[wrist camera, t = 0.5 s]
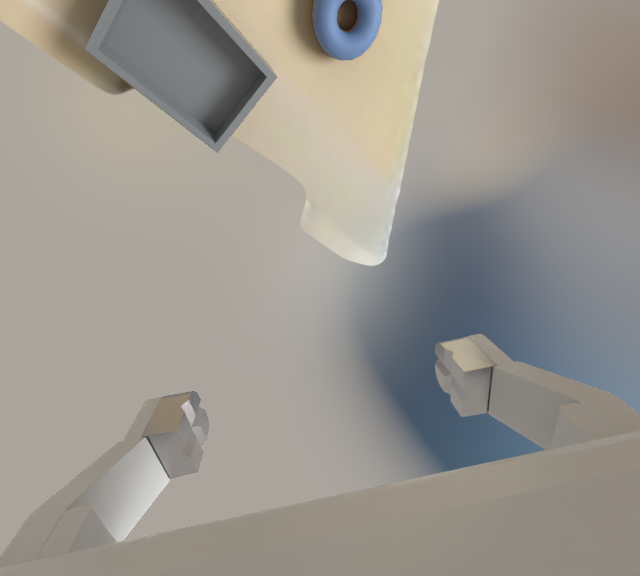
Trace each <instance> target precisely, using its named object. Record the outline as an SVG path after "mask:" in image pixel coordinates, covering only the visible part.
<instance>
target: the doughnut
mask: <svg viewBox="0 0 640 576" xmlns="http://www.w3.org/2000/svg"><path fill="white" fill-rule="evenodd" d="M344 1H346V0H314V2H313V7H312V24H313V28H314V32H315V35H316V38H317V40H318V42H319V43H320V45H321V47H322V49H323V50H324V51H325V52H326V53H327V54H329V55H330V56H331V57H333V58H336V59H338V60H352V59H354V58H357V57H359V56H361V55H362V54H363V53H364V52H365V51H366V50H367V49H368V48H369V47H370V46H371V44H372V43H373V41H374V40H375V38H376V36H377V33H378V30H379V27H380V24H381V18H382V9H383V7H382V0H351V1H353V2H354V3H355V4H356V7H357V19H356V22H355V24H354V26H353V27H352V28H351V29H350V30H347V31H344V30H341V29H340V28H339V26H338V23H337V12H338V9H339V7H340V5H341V4H342V3H343V2H344Z"/></svg>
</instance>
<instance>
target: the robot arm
mask: <svg viewBox="0 0 640 576" xmlns="http://www.w3.org/2000/svg"><path fill="white" fill-rule="evenodd" d="M435 353H436V355H437V356H438V357H439V359H438V361H437V362H436V364H435V370H436V376H437V380H438V382H439V384H440V386H441V388H442V389H443V391H444V392H446V393H448V394H450V395H451V402H452V404H453V405H454V407H455V408H456V410H457V411H458V412H459V414H460V415H461V417H465V416H471V415H477V414H482V413H488V414H489V415H491V416H493V417H494V418H496V419H498V420H499V421H501V422H502V423H504V424H506V425H507V426H509V427H510V428H512V429H513V430H515V431H517V432H518V433H520V434H522V435H523V436H525V437H526V438H528V439H530V440H531V441H533V442H535V443H536V444H538V445H539V446H541V447H542V448H544V449H546V450H545V451H540V452H536V453H531V454H527V455H522V456H517V457H513V458H508V459H503V460H498V461H494V462H489V463H484V464H480V465H475V466H470V467H466V468H461V469H457V470H452V471H447V472H442V473H438V474H433V475H429V476H424V477H419V478H415V479H410V480H406V481H401V482H396V483H391V484H387V485H382V486H377V487H373V488H368V489H363V490H359V491H354V492H350V493H345V494H340V495H336V496H331V497H326V498H321V499H317V500H312V501H307V502H303V503H298V504H294V505H289V506H284V507H280V508H275V509H271V510H265V511H261V512H257V513H252V514H247V515H242V516H238V517H233V518H228V519H224V520H219V521H214V522H210V523H205V524H200V525H196V526H191V527H186V528H182V529H177V530H173V531H168V532H163V533H158V534H154V535H149V536H144V537H140V538H135V539H131V540H127V541H123V540H124V539H125V538H126V536H127V535H128V534H129V532H130V531H131V530H132V529H133V527H134V526H135V525H136V523H137V522H138V521H139V519H140V518H141V517H142V516H143V514H144V513H145V512H146V510H147V509H148V508H149V507H150V505H151V504H152V503H153V501H154V500H155V499H156V498H157V496H158V495H159V493H160V492H161V491H162V490H163V489H164V487H165V486H166V485H167V483H168V482H169V481H170V479H171V478H175V477H179V476H183V475H187V474H192V473H196V472H198V469H199V465H200V462H201V458H202V454H203V451H202V449H201V445H202V444H203V443H204V442H205V441H206V440H207V435H208V428H209V422H208V417H207V414H206V412H205V410H204V409H203V408H201V407H199V404H200V400H201V399H200V397H199V395H198V393H197V392H195V391H192V392H186V393H180V394H174V395H169V396H164V397H158V398H153V399H149V400H147V401H146V402H145V403H144V404H143V406H142V408H141V410H140V411H139V413H138V415H137V417H136V419H135V420H134V422H133V424H132V426H131V428H130V429H129V431H128V433H127V435H126V436H125V438H124V440H123V442H118V443H116V444H115V445H114V446H113V447H112V448H110V449H109V450H108V451H107V452H105V453H104V454H103V455H102V456H101V457H99V458H98V459H97V460H96V461H95V462H93V463H92V464H91V465H90V466H89V467H87V468H86V469H85V470H84V471H83V472H81V473H80V474H79V475H78V476H76V477H75V478H74V479H73V480H72V481H70V482H69V483H68V484H67V485H65V486H64V487H63V488H62V489H61V490H59V491H58V492H57V493H56V494H55V495H53V496H52V497H51V498H50V499H48V500H47V501H46V502H45V503H44V504H42V505H41V506H40V507H39V508H38V509H36V510H35V511H34V512H33V513H32V514H30V516H29V517H28V518H27V520H26V521H25V522H24V524H23V525H22V527H21V528H20V530H19V531H18V533H17V534H16V535H15V537H14V538H13V539H12V541H11V542H10V544H9V545H8V547H7V548H6V549H5V551H4V552H3V554H2V555H1V556H0V576H640V414H639V413H638V412H636V411H635V410H634V409H632V408H631V407H630V406H628V405H627V404H625V403H624V402H623V401H621V400H620V399H619V398H617V397H616V396H614V395H613V394H611V393H608V392H605V391H603V390H600V389H597V388H594V387H591V386H588V385H585V384H582V383H579V382H576V381H574V380H571V379H568V378H565V377H562V376H559V375H556V374H553V373H550V372H548V371H545V370H542V369H539V368H536V367H533V366H530V365H527V364H525V363H522V362H513V361H512V360H511V359H510V358H508V356H506V355H505V354H504V353H503V352H502V351H501V350H500V349H498V347H496V346H495V345H494V344H493V343H492V342H491V341H490V340H489V339H487V338H486V337H485V336H484V335H482V334H477V335H472V336H468V337H465V338H461V339H455V340H450V341H446V342H441V343H437V344H436V347H435Z"/></svg>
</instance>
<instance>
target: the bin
mask: <svg viewBox="0 0 640 576" xmlns="http://www.w3.org/2000/svg"><path fill="white" fill-rule="evenodd" d="M85 50H86V51H87V52H89V53H90V54H91V55H92V56H94V57H95V58H96V59H98V60H99V61H100V62H101V63H103V64H104V65H105V66H107V67H108V68H109V69H110V70H112V71H113V72H114V73H116V74H117V75H118V76H119V77H121V78H122V79H123V80H125V81H126V82H127V83H128V84H130V85H131V86H132V87H134V88H135V89H136V90H137V91H139V92H140V93H141V94H143V95H144V96H145V97H146V98H148V99H149V100H150V101H151V102H153V103H154V104H155V105H157V106H158V107H159V108H161V109H162V110H163V111H164V112H166V113H167V114H168V115H170V116H171V117H172V118H173V119H175V120H176V121H177V122H178V123H180V124H181V125H182V126H184V127H185V128H186V129H187V130H189V131H190V132H191V133H193V134H194V135H195V136H196V137H198V138H199V139H200V140H202V141H203V142H204V143H205V144H207V145H208V146H209V147H211V148H212V149H213V150H215V151H216V152H218V151H219V150H220V149H221V148H222V146H223V145H224V144H225V143H226V141H227V140H228V139H229V138H230V136H231V135H232V134H233V133H234V131H235V130H236V129H237V128H238V126H239V125H240V124H241V122H242V121H243V120H244V119H245V117H246V116H247V115H248V114H249V112H250V111H251V110H252V109H253V107H254V106H255V105H256V103H257V102H258V101H259V100H260V98H261V97H262V96H263V95H264V93H265V92H266V91H267V89H268V88H269V87H270V86H271V84H272V83H273V82H274V81H275V79H276V78H277V76H276V74H275V73H274V71H273V70H272V68H271V67H270V66H269V65H268V64H267V63H266V61H265V60H264V59H263V58H262V57H261V56H260V55H259V53H258V52H257V51H256V50H255V49H254V48H253V47H252V45H251V44H250V43H249V42H248V41H247V40H246V39H245V38H244V36H243V35H242V34H241V33H240V32H239V31H238V30H237V28H236V27H235V26H234V25H233V24H232V23H231V22H230V20H229V19H228V18H227V17H226V16H225V15H224V14H223V12H222V11H221V10H220V9H219V8H218V7H217V6H216V4H215V3H214V2H213V1H212V0H108V2H107V4H106V6H105V8H104V10H103V12H102V14H101V16H100V18H99V20H98V22H97V24H96V27H95V29H94V31H93V33H92V35H91V37H90V39H89V41H88V43H87V45H86V47H85Z"/></svg>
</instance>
